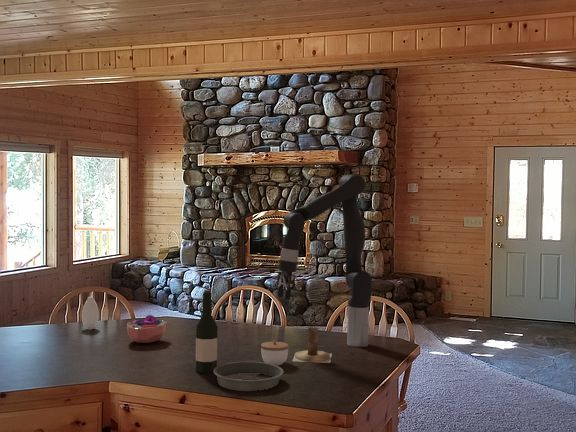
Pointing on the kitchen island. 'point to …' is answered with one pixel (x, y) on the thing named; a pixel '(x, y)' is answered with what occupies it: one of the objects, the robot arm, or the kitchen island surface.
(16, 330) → the kitchen island surface
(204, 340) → the wine bottle
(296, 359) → the mat
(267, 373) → the cake pan
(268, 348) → the lidded jar
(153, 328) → the cell model
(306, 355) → the lid
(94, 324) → the sauce bottle
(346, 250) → the robot arm
